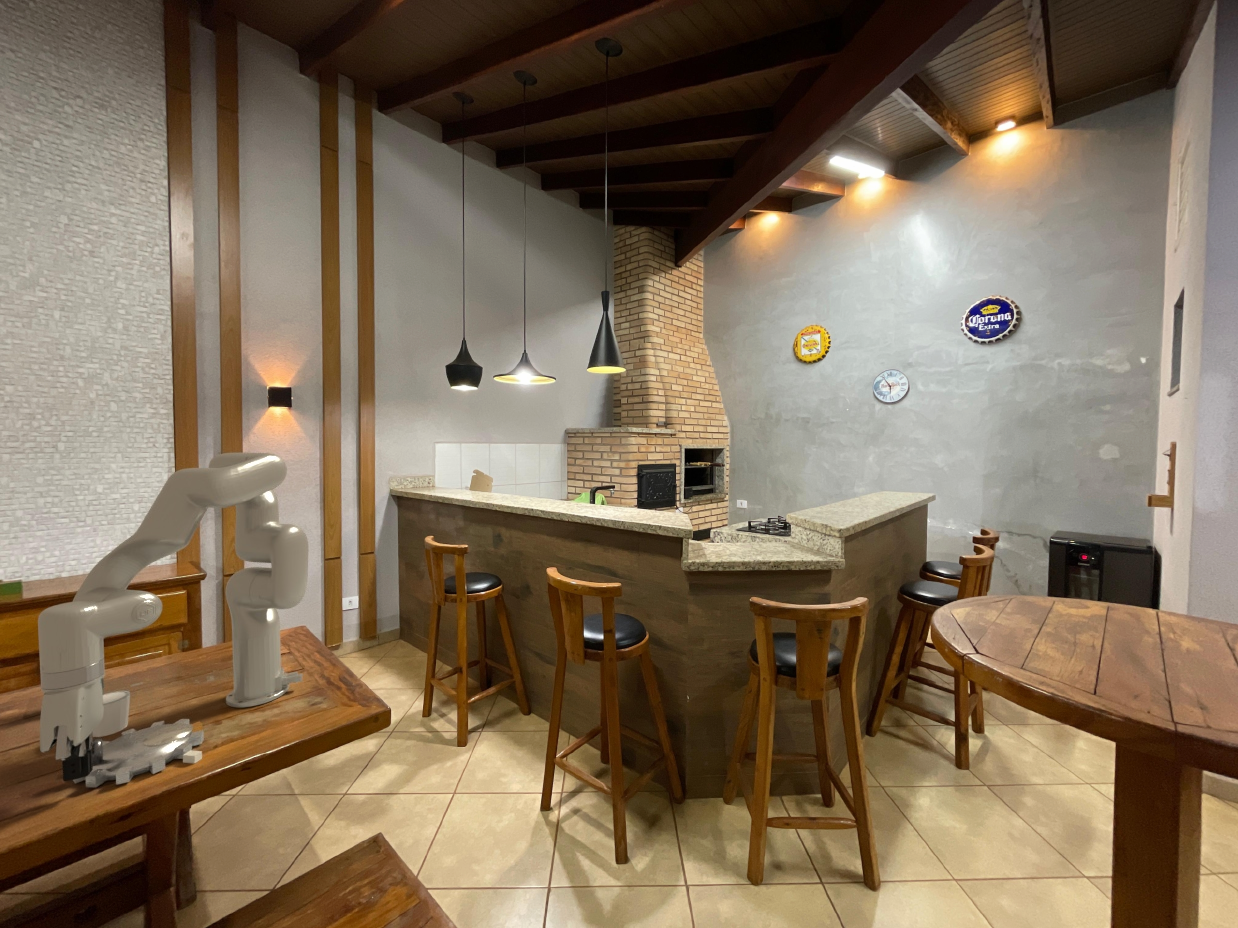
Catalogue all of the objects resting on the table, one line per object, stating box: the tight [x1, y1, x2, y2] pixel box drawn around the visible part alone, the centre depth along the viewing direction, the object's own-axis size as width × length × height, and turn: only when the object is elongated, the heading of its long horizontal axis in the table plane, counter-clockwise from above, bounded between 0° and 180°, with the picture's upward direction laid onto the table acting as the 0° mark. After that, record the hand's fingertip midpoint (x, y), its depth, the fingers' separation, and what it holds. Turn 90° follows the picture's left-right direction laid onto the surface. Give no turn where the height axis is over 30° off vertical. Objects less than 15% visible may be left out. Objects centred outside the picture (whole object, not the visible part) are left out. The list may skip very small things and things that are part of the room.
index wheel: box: [72, 718, 205, 788], centre depth 98 cm, size 19×19×6 cm
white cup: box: [93, 690, 131, 738], centre depth 108 cm, size 7×7×7 cm
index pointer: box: [182, 749, 203, 764], centre depth 97 cm, size 2×2×2 cm, turn 84°
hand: (78, 775), depth 87 cm, fingers closed
